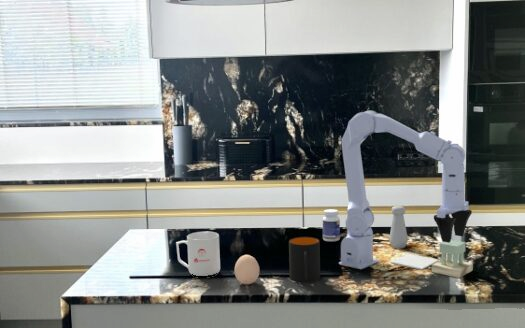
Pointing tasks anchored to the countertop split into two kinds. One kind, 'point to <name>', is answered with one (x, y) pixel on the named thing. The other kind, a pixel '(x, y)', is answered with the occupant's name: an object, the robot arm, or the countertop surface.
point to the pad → (414, 261)
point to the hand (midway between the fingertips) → (452, 238)
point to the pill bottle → (331, 225)
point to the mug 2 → (304, 259)
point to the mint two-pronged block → (452, 252)
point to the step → (452, 268)
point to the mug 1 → (202, 253)
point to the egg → (246, 269)
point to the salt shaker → (398, 228)
